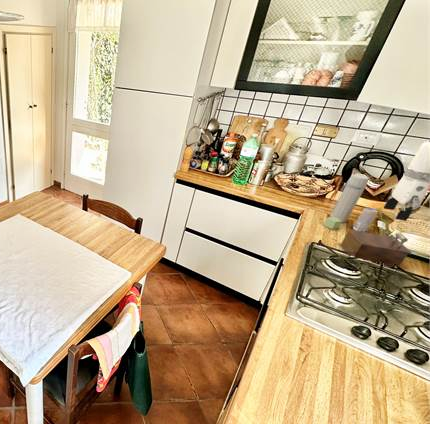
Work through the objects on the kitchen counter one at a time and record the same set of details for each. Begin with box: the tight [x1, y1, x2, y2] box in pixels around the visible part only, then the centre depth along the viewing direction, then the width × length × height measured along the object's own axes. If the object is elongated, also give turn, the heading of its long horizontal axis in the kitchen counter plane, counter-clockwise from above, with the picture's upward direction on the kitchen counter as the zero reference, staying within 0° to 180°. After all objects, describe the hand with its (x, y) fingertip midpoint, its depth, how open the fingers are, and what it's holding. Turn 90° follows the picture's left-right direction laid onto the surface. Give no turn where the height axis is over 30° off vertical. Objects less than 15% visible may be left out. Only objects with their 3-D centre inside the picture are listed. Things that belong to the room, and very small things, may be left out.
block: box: [323, 216, 343, 230], centre depth 158 cm, size 4×4×4 cm
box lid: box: [348, 229, 412, 255], centre depth 131 cm, size 16×13×5 cm
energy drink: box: [352, 207, 379, 233], centre depth 153 cm, size 5×5×12 cm
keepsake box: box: [340, 230, 409, 269], centre depth 135 cm, size 16×13×8 cm
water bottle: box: [329, 173, 370, 223], centre depth 160 cm, size 9×8×25 cm
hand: (394, 214), depth 124 cm, fingers open, 9 cm apart
